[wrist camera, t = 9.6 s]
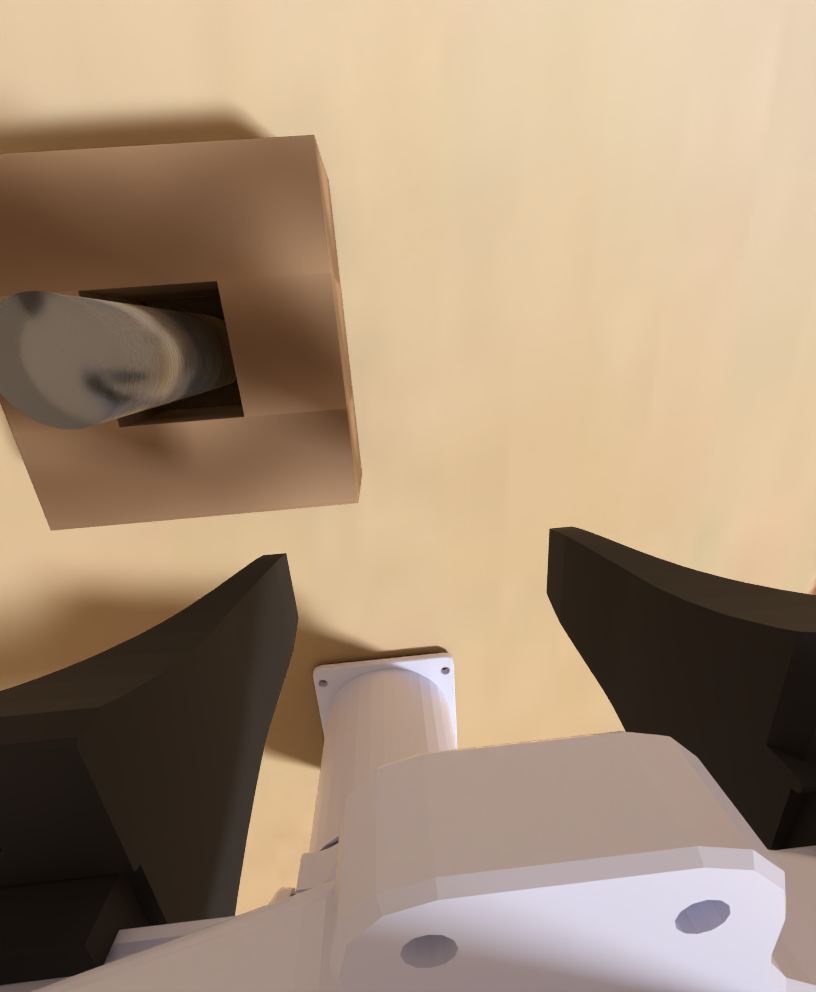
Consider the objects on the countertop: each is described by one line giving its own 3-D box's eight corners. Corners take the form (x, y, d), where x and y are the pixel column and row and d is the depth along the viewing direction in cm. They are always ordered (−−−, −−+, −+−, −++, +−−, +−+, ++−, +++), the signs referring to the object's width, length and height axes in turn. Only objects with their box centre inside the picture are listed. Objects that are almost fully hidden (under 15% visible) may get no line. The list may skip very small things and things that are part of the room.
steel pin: (251, 384, 19) (141, 423, 10) (183, 390, 19) (13, 435, 10) (236, 311, 18) (99, 285, 9) (164, 318, 18) (-44, 296, 9)
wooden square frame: (362, 473, 21) (358, 502, 17) (110, 495, 21) (51, 530, 17) (328, 180, 17) (314, 134, 13) (12, 200, 16) (-96, 159, 13)
